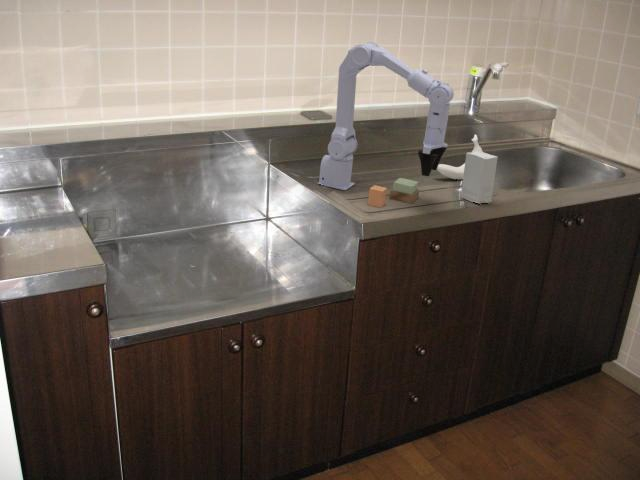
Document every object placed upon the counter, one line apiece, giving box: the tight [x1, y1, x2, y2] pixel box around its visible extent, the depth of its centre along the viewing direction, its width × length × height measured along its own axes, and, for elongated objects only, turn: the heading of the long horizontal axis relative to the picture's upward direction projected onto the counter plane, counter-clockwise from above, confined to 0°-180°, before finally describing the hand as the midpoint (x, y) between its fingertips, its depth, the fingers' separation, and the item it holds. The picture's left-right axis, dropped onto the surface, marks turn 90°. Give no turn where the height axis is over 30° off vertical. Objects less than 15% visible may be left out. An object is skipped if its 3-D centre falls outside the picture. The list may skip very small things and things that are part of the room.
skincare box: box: [460, 151, 499, 204], centre depth 217 cm, size 8×6×15 cm
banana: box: [436, 134, 484, 181], centre depth 237 cm, size 5×19×15 cm, turn 125°
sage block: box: [392, 177, 419, 195], centre depth 213 cm, size 6×6×2 cm
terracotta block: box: [367, 184, 388, 208], centre depth 206 cm, size 4×4×5 cm
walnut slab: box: [388, 188, 420, 204], centre depth 214 cm, size 7×7×3 cm
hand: (429, 172), depth 207 cm, fingers open, 7 cm apart
